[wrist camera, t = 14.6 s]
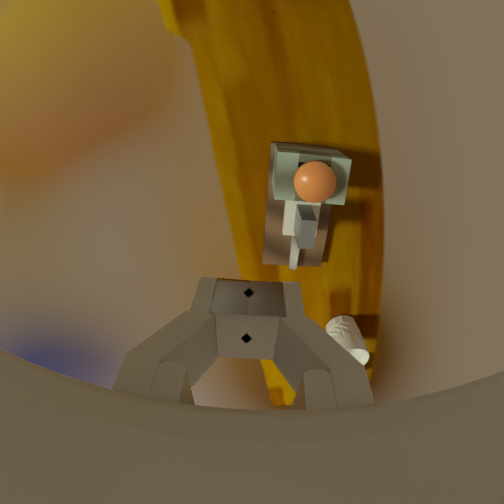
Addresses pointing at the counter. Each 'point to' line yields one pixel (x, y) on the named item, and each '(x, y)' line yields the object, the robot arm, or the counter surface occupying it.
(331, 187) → the button
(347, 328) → the white cup
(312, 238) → the carriage
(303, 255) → the rail bed
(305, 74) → the counter surface
